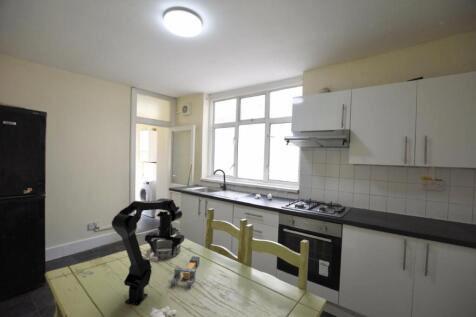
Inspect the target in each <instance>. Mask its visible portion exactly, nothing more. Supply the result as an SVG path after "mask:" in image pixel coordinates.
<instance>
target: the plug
mask: <svg viewBox="0 0 476 317" xmlns="http://www.w3.org/2000/svg"><path fill="white" fill-rule="evenodd" d="M200 258H201V257H200V256H193V255H192V257H191V258H190V259H189V263H188V265H187V267H186V268H190V269H198V267H199V265H200V263H201V262H200V261H201V259H200ZM182 273H183V274H182V279H183V280H184V279H186V280H188V279H189V277H190V273H189V272H182Z"/></svg>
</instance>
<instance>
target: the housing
mask: <svg viewBox="0 0 476 317" xmlns="http://www.w3.org/2000/svg"><path fill="white" fill-rule="evenodd" d="M196 269H197V268H195V269H190V268H187V267H181V266H180V267H178V266H176V267H175V269H174V270H173V272H174V273H173V274H174V275H173V276H172V278H171V279H170V285H171V286H177V284H178V282H179V281H180V279H181V273H183V272H189V273H190V277H189V279H187V280H186V287H187V288H192V286H193V285H194V283H195V281H196V272H197V271H196Z"/></svg>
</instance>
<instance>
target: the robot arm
mask: <svg viewBox="0 0 476 317" xmlns="http://www.w3.org/2000/svg"><path fill="white" fill-rule="evenodd" d="M154 210H160V211H159V212H158V213H157V214H156V217H159V222H158V223H159V225H158V227H157V229H158V232H153V231H150V232H149V233H147V234H146V235H145V236H144V241H145V242H146V243H147V244H148V245H149V247H150V248H152V250H153V252H154V254H156V252H157V250H158V249H157V241H159V240H171V241H172V242H173V244H172V247H171V249H172V256H174V253H175V250H176V248H177V246H178V245H179V244H180V245H181V244H182V243H184V241H185V236H184V235H183V234H176V229H177V228H176V227H173V224H172V223H173V222H175V221H179V220H180V219H182V217H183V213H182V210H181V208H180V206H177V205H176V204H175V201H174V199H173V198H171V199H170V198H163V197H162V198H158V199H157V200H143V201H142V200H134V201H132V202H131V203H130V204H129V205H127V206H126V207H124V208H123V209H121V210H120V211H119V212H118V213H117V214H116V215H115V216H114V217H113V219H112V221H111V227H112V228H113V230H114V232H115V233H116V234H117V235H119V236H120V237H121V239H122V242H123V245H124V248H125V251H126V254H127V257H128V260H129V262H130V265H129V267H128V274H127V275H126V278H125V279H124V281H123V284H124V286H127V287H129V288H128V298H127V299H126V300H125V301H124V303H125V304H129V305H135V306H136V305H137V306H139V305H141V303H142V302H143V301H144V300H145V298H147V297H148V293H145V287H147V286H148V285H149V284H150V280H151V276H152V268H153V266H152V264H151V260H150V261H149V260H147V259H143V256H144V255H143V254H142V250H141V247H140V245H139V240H138V238H137V234H136V230H137V228H138V223H139V221H141V219H142V214H143V212H144V211H154ZM134 212H135V213H134ZM132 213H134V214H133V215H130V214H132ZM175 234H176V235H175ZM173 235H175V236H173ZM174 257H175V256H174Z"/></svg>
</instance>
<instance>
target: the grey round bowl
mask: <svg viewBox="0 0 476 317" xmlns="http://www.w3.org/2000/svg"><path fill="white" fill-rule="evenodd" d="M172 244H173V242H172V241H171V240H161V239H159V240H157V252H156V254H154V255H153V256H152V257H158V259H160V260H164V259H170V258H174V257H177V256H178V255H179V254H180V252H181V249H182V248H181V246H182V245H181V244H179V245H178V246H177V248H176V250H175V253H174V256H172ZM149 248H150V254H151V253H152V252H153V250H152V248H151V247H149ZM162 248H169V249H162ZM153 253H154V252H153Z"/></svg>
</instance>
